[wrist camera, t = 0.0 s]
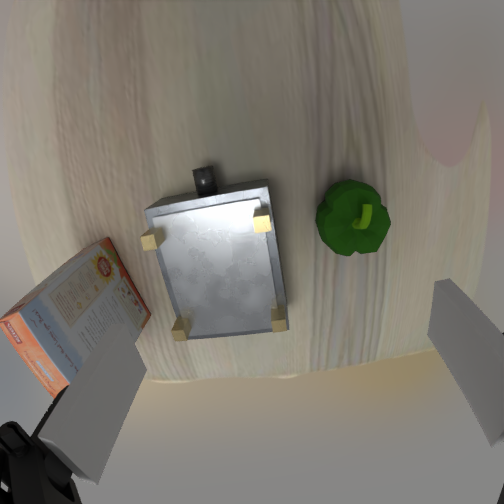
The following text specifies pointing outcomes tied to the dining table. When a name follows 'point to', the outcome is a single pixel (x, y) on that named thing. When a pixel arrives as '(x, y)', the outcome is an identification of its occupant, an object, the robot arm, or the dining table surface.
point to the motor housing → (219, 258)
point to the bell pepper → (352, 218)
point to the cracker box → (73, 314)
